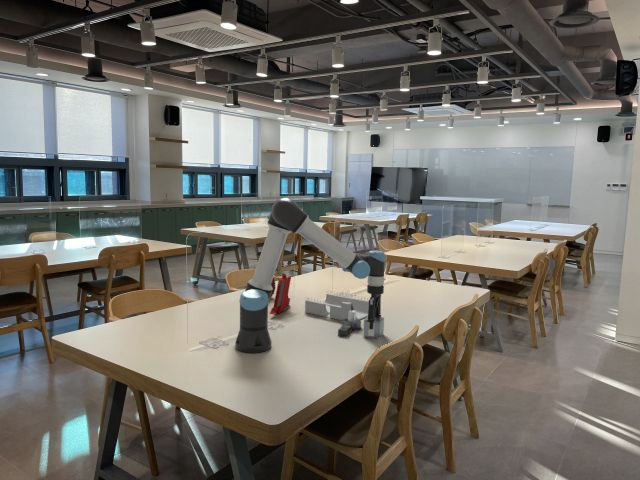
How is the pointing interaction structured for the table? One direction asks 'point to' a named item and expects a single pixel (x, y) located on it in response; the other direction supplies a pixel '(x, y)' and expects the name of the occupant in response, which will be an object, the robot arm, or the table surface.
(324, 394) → the table surface
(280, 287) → the tool
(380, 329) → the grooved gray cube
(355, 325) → the ratchet
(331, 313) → the skate ramp
